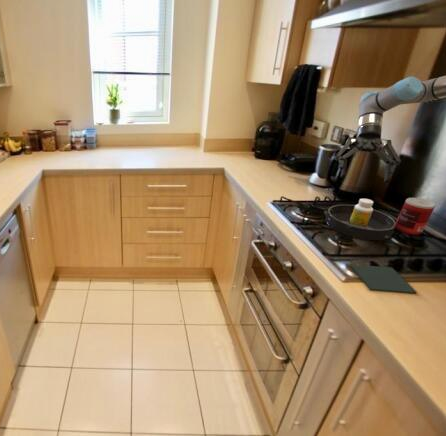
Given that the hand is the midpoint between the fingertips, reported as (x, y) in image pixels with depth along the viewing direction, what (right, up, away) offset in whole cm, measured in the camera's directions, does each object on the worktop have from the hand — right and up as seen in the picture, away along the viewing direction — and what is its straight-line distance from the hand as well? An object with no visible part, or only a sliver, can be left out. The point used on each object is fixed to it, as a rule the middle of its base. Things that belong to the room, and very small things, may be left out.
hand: (364, 178), depth 117 cm
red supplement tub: (+12, -19, -5) cm, 23 cm away
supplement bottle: (-4, -17, -2) cm, 18 cm away
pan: (-4, -18, -2) cm, 18 cm away
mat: (-17, -32, -28) cm, 46 cm away
